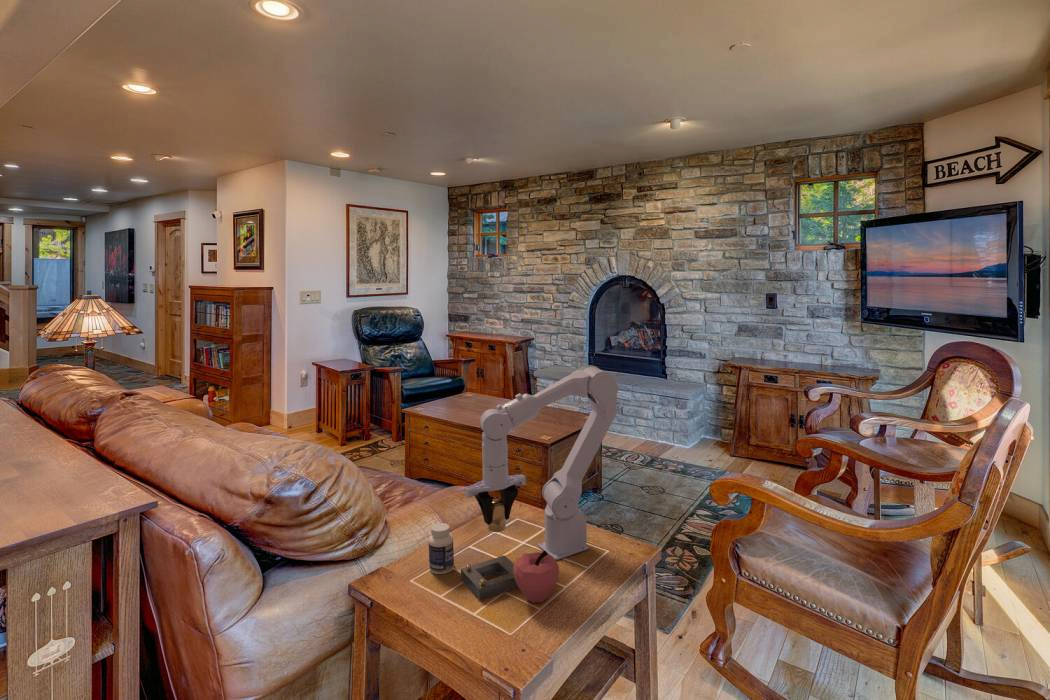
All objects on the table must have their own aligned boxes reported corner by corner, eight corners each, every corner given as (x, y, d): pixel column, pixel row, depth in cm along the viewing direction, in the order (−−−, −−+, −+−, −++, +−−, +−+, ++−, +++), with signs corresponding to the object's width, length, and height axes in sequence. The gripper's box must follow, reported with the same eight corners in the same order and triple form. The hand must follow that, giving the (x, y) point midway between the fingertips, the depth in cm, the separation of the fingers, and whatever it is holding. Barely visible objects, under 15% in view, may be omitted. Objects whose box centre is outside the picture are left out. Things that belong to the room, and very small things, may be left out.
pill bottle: (449, 576, 119) (447, 533, 118) (425, 573, 120) (424, 531, 119) (457, 563, 125) (455, 522, 123) (434, 561, 126) (433, 520, 124)
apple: (532, 581, 117) (531, 536, 116) (567, 594, 112) (567, 547, 111) (505, 603, 109) (503, 556, 108) (541, 618, 104) (541, 569, 103)
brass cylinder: (500, 522, 129) (499, 496, 128) (508, 529, 125) (508, 502, 124) (485, 526, 127) (484, 500, 126) (493, 533, 123) (492, 506, 122)
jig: (504, 565, 123) (504, 551, 123) (525, 584, 116) (524, 569, 115) (461, 579, 118) (460, 564, 117) (479, 600, 110) (479, 584, 110)
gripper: (514, 452, 131) (515, 506, 133) (458, 464, 124) (460, 521, 126) (529, 460, 125) (530, 517, 127) (471, 473, 118) (473, 533, 120)
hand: (496, 520), depth 126 cm, fingers closed on brass cylinder, 4 cm apart
